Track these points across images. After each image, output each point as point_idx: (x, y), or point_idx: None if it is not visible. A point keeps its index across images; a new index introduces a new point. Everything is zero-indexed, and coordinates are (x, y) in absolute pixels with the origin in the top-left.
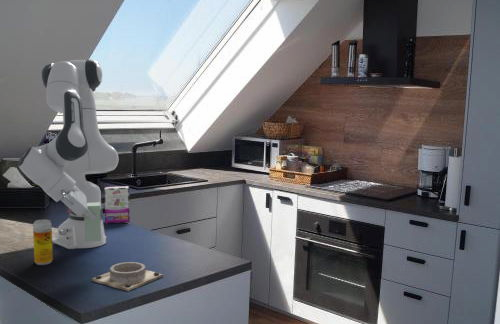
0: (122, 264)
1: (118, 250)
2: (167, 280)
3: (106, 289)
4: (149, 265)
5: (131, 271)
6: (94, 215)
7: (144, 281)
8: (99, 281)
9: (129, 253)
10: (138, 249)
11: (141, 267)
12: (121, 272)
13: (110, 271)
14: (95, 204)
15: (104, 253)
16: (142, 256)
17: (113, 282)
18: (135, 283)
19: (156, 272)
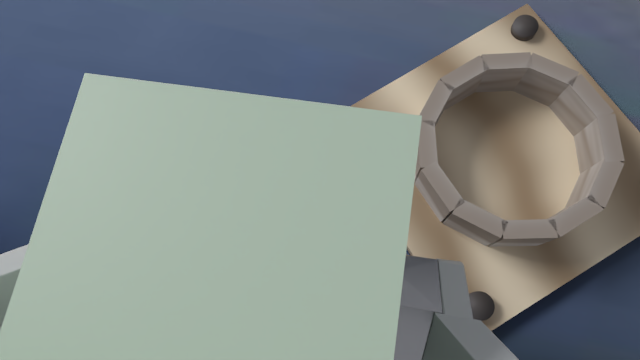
0: (436, 154)
1: (28, 108)
2: (581, 6)
3: (628, 297)
4: (336, 27)
5: (436, 125)
6: (465, 285)
7: (608, 102)
8: (520, 311)
9: (107, 70)
10: (68, 19)
11: (508, 73)
12: (600, 192)
13: (515, 240)
14: (265, 194)
15: (37, 184)
16: (186, 26)
17: (576, 246)
18: (624, 147)
19: (518, 23)
